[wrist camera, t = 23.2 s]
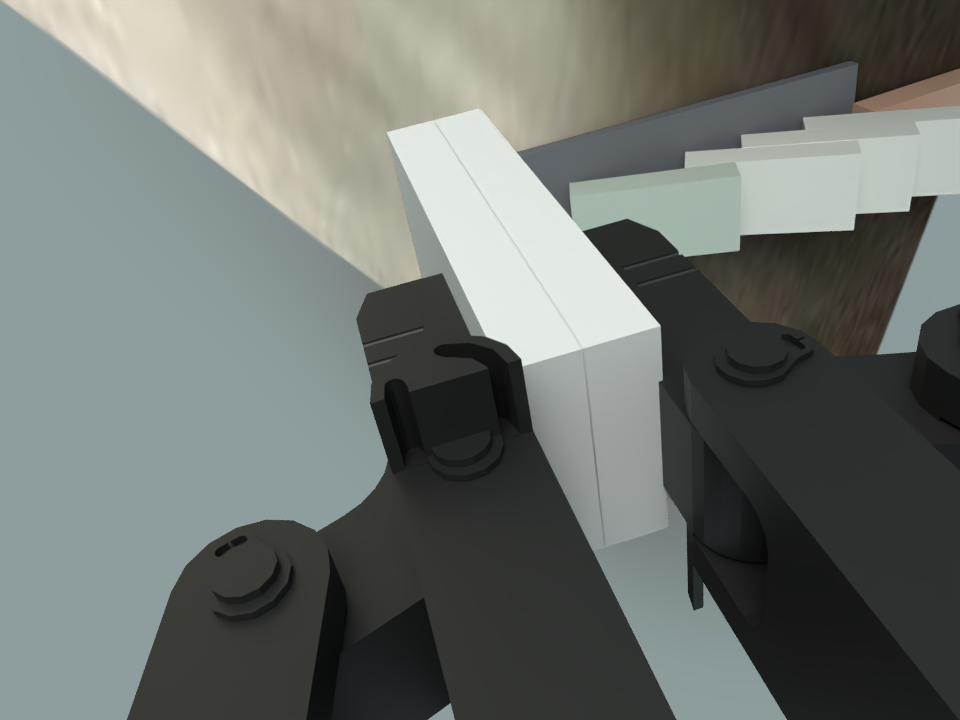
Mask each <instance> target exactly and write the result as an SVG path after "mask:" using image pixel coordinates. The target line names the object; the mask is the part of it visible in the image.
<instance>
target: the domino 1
mask: <svg viewBox="0 0 960 720" xmlns="http://www.w3.org/2000/svg"><path fill="white" fill-rule="evenodd" d="M569 190H570V204H571V212H572V220H573V221H574V222H575V223H576V225H577V226H578V227H579V228H580V229H581V231H584V230H588V229H592V228H595V227H599V226H603V225H606V224H610V223H613V222H617V221H621V220H624V219H629V220H632V221H634V222H637V223H639V224H642V225H645V226H647V227H650V228H652V229H655V230H657V231H659V232H660V233H661V234H662V235H663V236H664V237H665V238H666V239H667V240H668V241H669V242H670V243H671V244H672V245H673V246H674V247H675V248H676V249H677V250H678V252H679V255H681V254H682V255H683V256H684V257H687V256H696V255H705V254H714V253H723V252H732V251H740V208H741V174H740V172H739V170H738V168H737V165H736V163H735V162H731V163H723V164H715V165H707V166H700V167H692V168H684V169H676V170H668V171H660V172H652V173H644V174H637V175H629V176H621V177H613V178H605V179H597V180H589V181H581V182H573V183H569Z"/></svg>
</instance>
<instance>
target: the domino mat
mask: <svg viewBox="0 0 960 720" xmlns="http://www.w3.org/2000/svg"><path fill="white" fill-rule="evenodd" d="M857 72H858V63H855V62H852V61H848V62H844V63H841V64H837V65H833V66H830V67H826V68H822V69H819V70H815V71H811V72H808V73H804V74H800V75H797V76H793V77H790V78H786V79H782V80H779V81H775V82H771V83H768V84H764V85H760V86H757V87H753V88H749V89H746V90H742V91H739V92H735V93H731V94H728V95H724V96H720V97H717V98H713V99H709V100H706V101H702V102H699V103H695V104H691V105H688V106H684V107H680V108H677V109H673V110H669V111H666V112H662V113H658V114H655V115H651V116H648V117H644V118H640V119H637V120H633V121H629V122H626V123H622V124H618V125H615V126H611V127H607V128H604V129H600V130H597V131H593V132H589V133H586V134H582V135H578V136H575V137H571V138H567V139H564V140H560V141H556V142H553V143H549V144H546V145H542V146H538V147H535V148H531V149H527V150H524V151H520V152H517V154H518V155H519V156H520V157H521V158H522V160H523V161H524V162H525V163H526V164H527V166H528V167H529V168H530V169H531V170H532V172H533V173H534V174H535V175H536V176H537V178H538V179H539V180H540V181H541V182H542V184H543V185H544V186H545V187H546V188H547V190H548V191H549V192H550V193H551V195H552V196H553V197H554V198H555V199H556V201H557V202H558V203H559V204H560V205H561V207H562V208H563V209H564V210H565V211H566V213H567V214H568V215H569V216H570V217H571V219H572V212H571V204H570V190H569V183H573V182H581V181H589V180H597V179H605V178H613V177H621V176H629V175H637V174H644V173H652V172H660V171H668V170H676V169H684V168H685V152H692V151H706V150H720V149H735V148H741V135H745V134H758V133H771V132H784V131H797V130H802V121H803V117H815V116H829V115H842V114H852V107H853V103H855V92H856V82H857ZM744 236H747V235H740V238H741V237H744Z"/></svg>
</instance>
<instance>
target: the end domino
mask: <svg viewBox="0 0 960 720" xmlns="http://www.w3.org/2000/svg"><path fill="white" fill-rule="evenodd" d="M947 106H960V68H959V69H956V70H953V71H950V72H947V73H944V74H941V75H938V76H935V77H932V78H929V79H926V80H923V81H920V82H916V83H913V84H910V85H907V86H904V87H901V88H898V89H895V90H892V91H889V92H886V93H883V94H880V95H877V96H874V97H871V98H868V99H865V100H862V101H858V102H855V103H853V107H852V114H855V113H868V112H881V111H894V110H908V109H921V108H934V107H947Z"/></svg>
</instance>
